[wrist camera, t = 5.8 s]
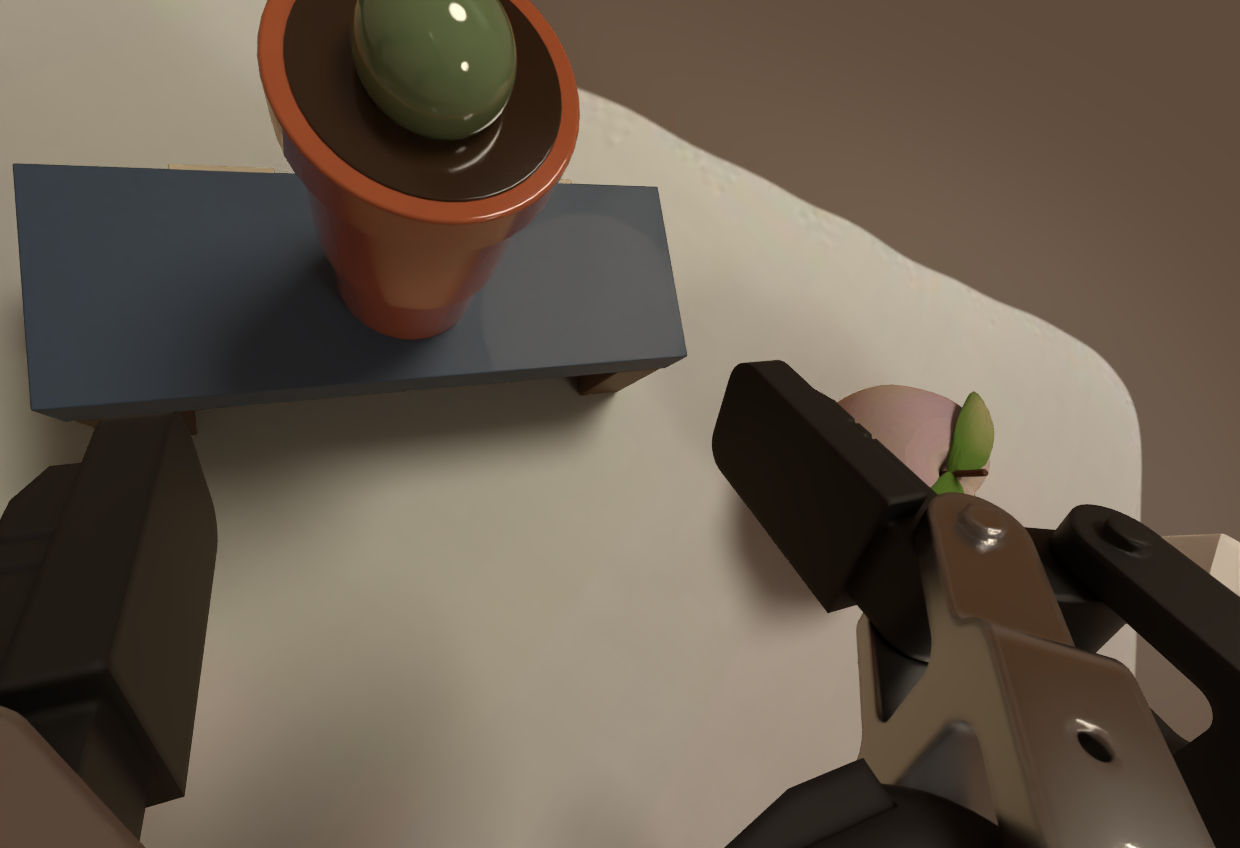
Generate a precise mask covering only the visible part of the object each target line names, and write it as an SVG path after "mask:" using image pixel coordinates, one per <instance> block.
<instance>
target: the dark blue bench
mask: <svg viewBox="0 0 1240 848" xmlns="http://www.w3.org/2000/svg"><path fill="white" fill-rule="evenodd" d="M168 168H169V169H151V168H124V167H97V166H69V165H42V164H13V176H14V189H15V203H16V216H17V230H18V243H19V257H20V270H21V283H22V297H23V311H24V324H25V337H26V351H27V364H28V378H29V391H30V405H31V410H32V411H35V412H38V413H41V414H44V415H47V416H50V417H53V418H56V419H59V420H62V421H66V422H67V421H76V422H79V423H82V424H85V425H88V426H91V427H94V428H95V427H96V425H97V423H98V421H99V420H100V419H102V418H104V417H116V416H127V415H139V414H150V413H162V412H173V411H178V412H180V413H181V414H182V416H183V417H184V419H185V421H186V423H187V426H188V429H189V432H190V435H191V436H192V435H196V434H197V432H196V422H195V412H194V410H201V409H212V408H224V407H235V406H246V405H257V404H268V403H279V402H290V401H302V400H313V399H324V398H335V397H346V396H357V395H369V394H380V393H391V392H402V391H413V390H424V389H435V388H447V387H458V386H469V385H480V384H491V383H502V382H514V381H525V380H536V379H547V378H558V377H569V376H577V377H578V383H579V390H580V395H590V394H599V393H609V392H618V391H619V390H621V389H623V388H625V387H627V386H629V385H630V384H632V383H634V382H636V381H638V380H640V379H642V378H643V377H645V376H647V375H649V374H651V373H653V372H654V371H656V370H658V369H660V368H666V367H668V366H670V365H671V364H673V363H675V362H677V361H679V360H681V359H683V358H685V357H686V356H687V352H686V346H685V340H684V335H683V329H682V323H681V318H680V312H679V306H678V301H677V295H676V289H675V284H674V278H673V272H672V267H671V261H670V255H669V250H668V244H667V239H666V233H665V227H664V222H663V216H662V210H661V205H660V199H659V193H658V188H657V187H645V186H618V185H590V184H572V183H571V180H562V179H560V181H559V182H558V184H557V186H556V188H555V190H554V192H553V193H552V195H551V197H550V199H549V200H548V202H547V204H546V205H545V207H544V208H543V209H542V210H541V212H540V213H539V214H538V215H537V216H536V218H535V219H534V220H533V221H531V222H530V223H529V224H528V225H527V226H526V227H525V228H523V229H522V230H520V231H519V232H517V233H516V234H514V236H513V238H512V240H511V242H510V244H509V246H508V248H507V250H506V252H505V254H504V256H503V258H502V260H501V262H500V265H499V267H498V268H497V270H496V272H495V273H494V275H493V276H492V278H491V279H490V280H489V281H488V283H487V284H486V285H485V286H484V287H482V288H481V289H480V290H479V291H478V292H477V293H475V294H474V296H473V299H472V301H471V303H470V306H469V308H468V309H467V311H466V313H465V314H464V315H463V317H462V318H461V319H460V320H459V321H458V322H457V323H456V324H455V325H454V326H452V327H451V328H449V329H448V330H446V331H444V332H442V333H440V334H438V335H435V336H432V337H429V338H424V339H414V340H411V339H400V338H394V337H390V336H387V335H384V334H382V333H379V332H377V331H375V330H373V329H371V328H370V327H368V326H366V325H365V324H364V323H362V322H361V321H360V320H359V319H358V318H357V317H355V316H354V315H353V313H352V312H351V311H350V310H349V309H348V307H347V306H346V304H345V303H344V301H343V300H342V298H341V295H340V293H339V291H338V288H337V284H336V280H335V273H334V267H333V265H332V264H331V263H330V261H329V260H328V258H327V257H326V255H325V254H324V252H323V250H322V248H321V246H320V243H319V241H318V239H317V235H316V232H315V229H314V224H313V219H312V214H311V209H310V204H309V200H308V195H307V190H306V186H305V185H304V184H303V182H302V181H301V180H300V179H299V178H298V176H297V175H296V174H289V173H275V172H274V169H273V168H255V167H229V166H203V165H178V164H168Z"/></svg>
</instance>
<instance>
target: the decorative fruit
mask: <svg viewBox="0 0 1240 848" xmlns="http://www.w3.org/2000/svg"><path fill="white" fill-rule="evenodd" d="M837 403H838V404H839V405H840V406H841V407H842V408H843V409H844V410H846V411H847V412H848V413H849V414H850V415H851V416H852V417H853V418H854V419H855V423H860V424H861V425H862V426H863V427H864V428H865V429H866V430H868V431H869V432H870V433H871V434H872V439H877V440H879V441H880V442H881V443H882V444H883V445H884V446H885V447H886V448H887V449H888V450H890V451H891V452H892V453H893V454H894V455H895V456H896V457H897V458H898V459H899V460H901V461H902V462H903V463H904V464H905V465H906V466H907V467H908V468H909V469H910V470H912V471H913V472H914V473H915V474H916V475H917V476H918V477H919V478H920V479H921V480H923V481H924V482H925V483H926V484H927V485H928V486H929V487H930V488H931V489H932V490H934V491H935V492H936V493H937V494H938V495H939V494H941V493H947V492H958V493H964V494H969V495H973V496H975V492H976V491H977V490H978V489H979V488H980V486H981V485H982V483H983V482H984V480H985V478H986V476H987V475H988V470H989V462H990V459H989V457H990V454H991V450H992V447H993V442H994V428H993V423H992V419H991V416H990V413H989V411H988V409H987V407H986V405H985V403H984V401H983V400H982V398H981V397H980V396H979V394H977V393H976V392H972V393H970V394H969V396H968V397H967V399H966V401H965V403H964V405H963V407H960V406H959V405H958V404H956V403H955V402H953V401H951V400H949V399H948V398H945V397H943V396H941V395H938V394H935V393H932V392H929V391H925V390H921V389H917V388H912V387H907V386H899V385H881V386H875V387H871V388H867V389H864V390H861V391H858V392H856V393H853V394H851V395H849V396H847V397H845V398H844V399H842V400H840V401H839V402H837Z"/></svg>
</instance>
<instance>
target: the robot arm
mask: <svg viewBox="0 0 1240 848" xmlns="http://www.w3.org/2000/svg"><path fill="white" fill-rule="evenodd" d="M712 451H713V456H714V459H715V462H716V464H717V466H718V468H719V470H720V471H721V472H722V474H723V475H724V476H725V478H726V479H727V480H728V482H729V483H730V484H731V486H732V487H733V488H734V490H735V491H736V492H737V494H738V495H739V496H740V497H741V499H742V500H743V501H744V503H745V504H746V505H747V507H748V508H749V509H750V511H751V512H752V513H753V515H754V516H755V517H756V519H757V520H758V521H759V523H760V524H761V525H762V527H763V528H764V529H765V531H766V532H767V533H768V535H769V536H770V537H771V539H772V540H773V541H774V543H775V544H776V545H777V547H778V548H779V549H780V550H781V552H782V553H783V554H784V556H785V557H786V558H787V560H788V561H789V562H790V564H791V565H792V566H793V568H794V569H795V570H796V572H797V573H798V574H799V576H800V577H801V578H802V580H803V581H804V582H805V584H806V585H807V586H808V588H809V589H810V590H811V592H812V593H813V594H814V596H815V597H816V598H817V599H818V601H819V602H820V603H821V605H822V606H823V607H824V609H825V610H826V611H827V613H830V612H833V611H837V610H840V609H844V608H847V607H851V606H854V605H858V607H859V608H860V609H861V610H862V611H863V614H862V616H861V617H860V619H859V621H858V623H857V629H856V634H857V651H858V668H859V685H860V702H861V719H862V741H861V747H860V752H859V755H858V758H857V760H856V761H854V762H852V763H849V764H847V765H844V766H842V767H840V768H837V769H835V770H832V771H830V772H828V773H825V774H823V775H820V776H818V777H815V778H813V779H811V780H808V781H806V782H803V783H801V784H799V785H796V786H794V787H791V788H789V789H787V790H786V791H785V792H784V793H783V794H782V795H781V796H780V797H779V798H778V799H777V800H776V801H774V802H773V803H772V804H771V805H770V806H769V807H768V808H767V809H766V810H765V811H764V812H763V813H761V814H760V815H759V816H758V817H757V818H756V819H755V820H754V821H753V822H752V823H751V824H750V825H748V826H747V827H746V828H745V829H744V830H743V831H742V832H741V833H740V834H739V835H738V836H737V837H735V838H734V839H733V840H732V841H731V842H730V843H729V844H728V845H727V846H726V847H725V848H1240V597H1239V596H1238V595H1237V594H1235V593H1234V592H1233V591H1231V590H1230V589H1229V588H1228V587H1226V586H1225V585H1224V584H1222V583H1221V582H1220V581H1218V580H1217V579H1216V578H1214V577H1213V576H1212V575H1210V574H1209V573H1208V572H1206V571H1205V570H1204V569H1203V568H1201V567H1200V566H1199V565H1197V564H1196V563H1195V562H1193V561H1192V560H1191V559H1189V558H1188V557H1187V556H1185V555H1184V554H1183V553H1182V552H1180V551H1179V550H1178V549H1176V548H1175V547H1174V546H1172V545H1171V544H1170V543H1168V542H1167V541H1166V540H1164V539H1163V538H1162V537H1161V536H1159V535H1158V534H1157V533H1155V532H1154V531H1152V530H1151V529H1149V528H1148V527H1147V526H1145V525H1144V524H1142V523H1140V522H1139V521H1137V520H1135V519H1133V518H1131V517H1129V516H1127V515H1125V514H1123V513H1121V512H1118V511H1115V510H1113V509H1110V508H1106V507H1103V506H1097V505H1089V504H1086V505H1079V506H1076V507H1074V508H1073V509H1072V510H1071V511H1070V513H1069V514H1068V515H1067V516H1066V518H1065V519H1064V520H1063V521H1062V523H1061V524H1060V525H1059V526H1058V528H1057V529H1056V530H1050V529H1038V528H1026V527H1023V526H1022V525H1021V524H1020V523H1019V522H1018V521H1017V520H1016V519H1015V518H1014V517H1013V516H1011V515H1010V514H1009V513H1007V512H1006V511H1004V510H1003V509H1001V508H1000V507H998V506H996V505H994V504H992V503H990V502H988V501H986V500H984V499H981V498H979V497H976V496H973V495H969V494H964V493H958V492H947V493H941V494H939V495H938V494H937V493H936V492H935V491H934V490H932V489H931V488H930V487H929V486H928V485H927V484H926V483H925V482H924V481H923V480H921V479H920V478H919V477H918V476H917V475H916V474H915V473H914V472H913V471H912V470H910V469H909V468H908V467H907V466H906V465H905V464H904V463H903V462H902V461H901V460H899V459H898V458H897V457H896V456H895V455H894V454H893V453H892V452H891V451H890V450H888V449H887V448H886V447H885V446H884V445H883V444H882V443H881V442H880V441H879V440H877V439H872V434H871V433H870V432H869V431H868V430H866V429H865V428H864V427H863V426H862V425H861V424H860V423H855V419H854V418H853V417H852V416H851V415H850V414H849V413H848V412H847V411H846V410H844V409H843V408H842V407H841V406H840V405H839V404H838V403H837V402H836V401H835V400H833V399H831V398H829V397H827V396H826V395H824V394H822V393H820V392H819V391H817V390H815V389H814V388H812V387H811V386H810V385H809V384H808V383H807V382H806V381H805V380H804V379H803V378H802V377H801V376H799V375H798V374H797V373H796V372H795V371H794V370H793V369H792V368H791V367H790V366H789V365H788V364H786V363H785V362H783V361H781V360H772V361H761V362H749V363H740V364H738V365H737V366H736V367H735V368H734V369H733V371H732V373H731V375H730V378H729V381H728V385H727V388H726V391H725V395H724V398H723V402H722V405H721V408H720V412H719V415H718V418H717V422H716V425H715V429H714V432H713V436H712ZM216 554H217V522H216V515H215V510H214V505H213V502H212V498H211V495H210V492H209V489H208V486H207V483H206V480H205V477H204V474H203V471H202V468H201V465H200V462H199V459H198V456H197V453H196V450H195V447H194V444H193V441H192V438H191V435H190V432H189V429H188V426H187V423H186V421H185V419H184V417H183V416H182V414H181V413H180V412H178V411H173V412H162V413H150V414H139V415H127V416H116V417H104V418H102V419H100V420H99V421H98V423H97V425H96V427H95V430H94V432H93V435H92V437H91V440H90V442H89V445H88V447H87V450H86V452H85V455H84V457H83V460H82V462H81V463H74V464H65V465H56V466H49V467H48V468H47V469H46V470H44V471H43V472H42V473H41V474H40V475H39V476H38V477H36V478H35V479H34V480H33V481H32V482H31V483H29V484H28V485H27V486H26V487H25V488H24V489H23V490H21V491H20V492H19V493H18V494H17V495H16V496H14V497H13V498H12V499H11V500H10V501H9V503H8V505H7V507H6V509H5V511H4V513H3V515H2V517H1V519H0V848H145V847H144V846H143V845H142V844H141V843H140V842H139V841H140V836H141V830H142V824H143V818H144V813H145V808H146V807H150V806H153V805H157V804H160V803H164V802H167V801H171V800H174V799H178V798H181V797H184V796H185V789H186V781H187V773H188V766H189V758H190V751H191V743H192V736H193V728H194V720H195V713H196V705H197V698H198V690H199V682H200V675H201V667H202V660H203V652H204V645H205V637H206V629H207V622H208V614H209V607H210V599H211V591H212V584H213V576H214V569H215V561H216ZM1126 623H1127V624H1128V625H1130V626H1131V627H1132V628H1133V629H1134V630H1135V631H1136V632H1137V633H1138V634H1140V635H1141V636H1142V637H1143V638H1144V639H1145V640H1146V641H1147V642H1148V643H1150V644H1151V645H1152V646H1153V647H1154V648H1155V649H1156V650H1157V651H1158V652H1159V653H1160V654H1162V655H1163V656H1164V657H1165V658H1166V659H1167V660H1168V661H1169V662H1170V663H1172V664H1173V665H1174V666H1175V667H1176V668H1177V669H1178V670H1179V671H1180V672H1181V673H1183V674H1184V675H1185V676H1186V677H1187V678H1188V679H1189V680H1190V681H1191V682H1193V683H1194V684H1195V685H1196V686H1197V687H1198V688H1199V689H1200V690H1201V691H1202V692H1203V694H1204V695H1205V696H1206V698H1207V700H1208V701H1209V703H1210V706H1211V708H1212V713H1213V720H1212V724H1211V726H1210V728H1209V729H1208V730H1206V731H1205V732H1204V733H1202V734H1201V735H1200V736H1198V737H1197V738H1196V739H1194V740H1193V741H1192V742H1188V741H1186V740H1185V739H1183V738H1182V737H1180V736H1179V735H1177V734H1176V733H1175V732H1174V731H1173V730H1172V729H1171V728H1170V727H1169V726H1168V725H1167V724H1166V723H1165V722H1164V721H1163V720H1162V719H1161V718H1160V717H1159V716H1158V715H1157V714H1156V713H1155V712H1154V711H1153V710H1152V709H1151V708H1150V707H1149V706H1148V704H1147V702H1146V700H1145V697H1144V695H1143V693H1142V691H1141V689H1140V687H1139V685H1138V683H1137V681H1136V679H1135V677H1134V675H1133V674H1132V673H1131V671H1130V670H1129V669H1128V668H1127V667H1126V666H1125V665H1124V664H1123V663H1121V662H1119V661H1118V660H1116V659H1113V658H1110V657H1107V656H1103V655H1100V654H1097V653H1096V652H1097V651H1098V650H1099V649H1100V648H1101V647H1102V646H1103V645H1104V644H1105V643H1106V642H1107V641H1108V640H1109V639H1110V638H1111V637H1112V636H1113V635H1114V634H1115V633H1117V632H1118V631H1119V630H1120V629H1121V628H1122V627H1123V626H1124V625H1125V624H1126Z"/></svg>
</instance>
